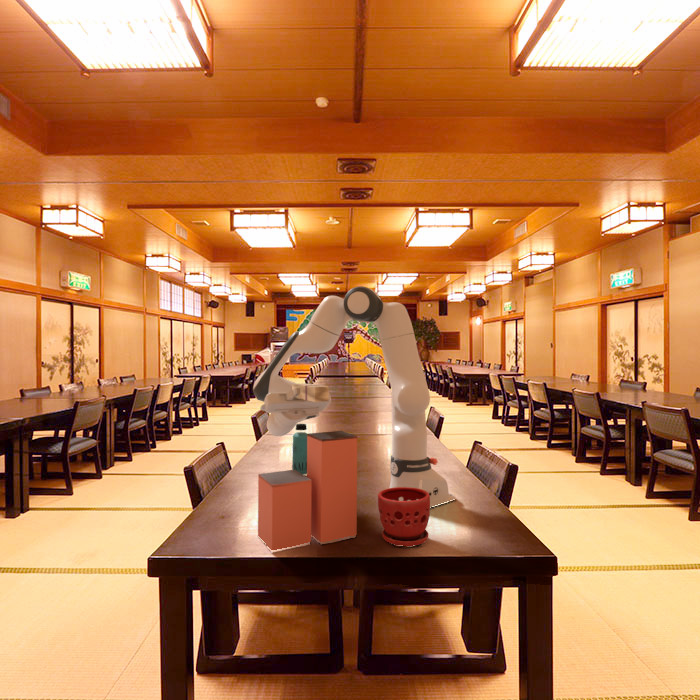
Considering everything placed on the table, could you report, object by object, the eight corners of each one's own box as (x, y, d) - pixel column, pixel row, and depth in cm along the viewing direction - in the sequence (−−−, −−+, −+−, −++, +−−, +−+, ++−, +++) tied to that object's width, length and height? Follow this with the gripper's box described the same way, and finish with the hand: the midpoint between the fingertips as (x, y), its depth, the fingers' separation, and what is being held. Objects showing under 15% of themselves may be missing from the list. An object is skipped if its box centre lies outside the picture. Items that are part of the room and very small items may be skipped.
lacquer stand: (334, 521, 128) (335, 428, 128) (356, 538, 117) (357, 436, 117) (257, 536, 118) (258, 435, 118) (274, 555, 107) (274, 444, 107)
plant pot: (424, 529, 123) (424, 485, 123) (434, 551, 110) (435, 501, 110) (375, 530, 122) (375, 485, 122) (380, 551, 109) (380, 501, 109)
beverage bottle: (300, 473, 178) (301, 421, 178) (312, 476, 174) (313, 423, 174) (288, 476, 173) (288, 423, 173) (300, 480, 169) (301, 425, 169)
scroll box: (304, 396, 139) (304, 383, 139) (328, 401, 124) (328, 386, 124) (291, 397, 137) (291, 383, 137) (314, 402, 122) (314, 386, 122)
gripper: (257, 401, 139) (269, 381, 129) (318, 398, 149) (335, 379, 138) (260, 420, 136) (273, 401, 126) (322, 416, 146) (339, 398, 136)
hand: (306, 389), depth 132 cm, fingers closed on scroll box, 4 cm apart
